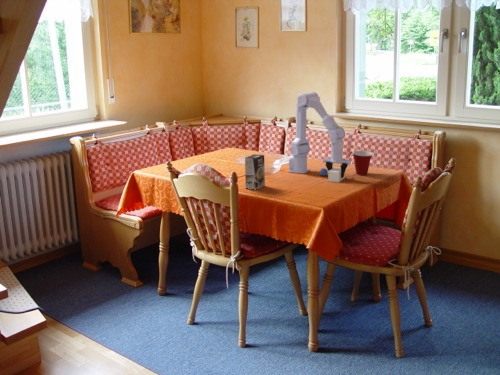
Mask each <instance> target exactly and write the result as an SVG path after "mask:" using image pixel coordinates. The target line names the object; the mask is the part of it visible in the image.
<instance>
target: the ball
mask: <svg viewBox="0 0 500 375" xmlns="http://www.w3.org/2000/svg"><path fill="white" fill-rule="evenodd" d="M319 173H320V175H321V176H323V177H325V176H328V169H327V168H325V167H324V168H321V169H320V170H319Z"/></svg>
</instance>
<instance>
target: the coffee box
mask: <svg viewBox="0 0 500 375" xmlns="http://www.w3.org/2000/svg"><path fill="white" fill-rule="evenodd" d="M244 168H245V169H244V171H245V172H244V173H245V174H244V176H245V189H246V188H248V189H247V190H252V189H254V190H253V191H257V190H259V189H261V188H264V187H265V186H266V171H265V169H266V168H265V154H255V153H253V154H251V155H249V156H246V157H244ZM263 186H264V187H263ZM256 189H257V190H256Z"/></svg>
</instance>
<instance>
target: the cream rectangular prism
mask: <svg viewBox="0 0 500 375" xmlns="http://www.w3.org/2000/svg"><path fill="white" fill-rule="evenodd" d="M327 176H328V177H327V178H328V182H331V183H340V182H341V181H342V180H344V179H345V178H346V172H345V173H344V177H343V178H341V166H340V167H339V166H334V167H332V169H331V170H329V171H328V170H327Z"/></svg>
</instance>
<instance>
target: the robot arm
mask: <svg viewBox="0 0 500 375" xmlns="http://www.w3.org/2000/svg"><path fill="white" fill-rule="evenodd" d="M296 100H297V103H296V105H295V113H296V114H295V138H294V139H293V140H292V142H291V146H290V153H291V155H290V156H289V159H288V173H295V174H306V173H308V172H310V170H311V169H309V168H308V154H309V153H310V151H311V147H310V141H309V140H308V139H307V110H308V109H309V108H311V109H314V111H316V113H317V114H318V115H319V117H320V118H321V121H322V122H321V123H322V124H323V126H324V127H325V129H326V130H327V131H328V137H329V140H330V151H331V152H330V154H331V155H330V157H328V158H327V157H324V158H322V164H323V163H324V164H325V167H326V170H327V172H328V171H329V170H331V169H332V168H334V167H333V165H334V164H340V167H341V178H343V177H344V173H345V174H346V170H347V167H348V166H350V165H351V164H352V160H350V159H344V158H343V143H344V142H343V139H344V137H346V136H345V135H346V130H345V129H344V127H343V126H340V125H338V124H337V121H336V119H335V118H334V117H333V116H332V115H329V114H328V113H327V111H326V109H325V108H324V106H323V104H322V102H321V97H320V96H319V94H318V93H317V92H315V91H312V92H308V93H306V92H305V93H300V94H299V95H298V96H297V98H296Z"/></svg>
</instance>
